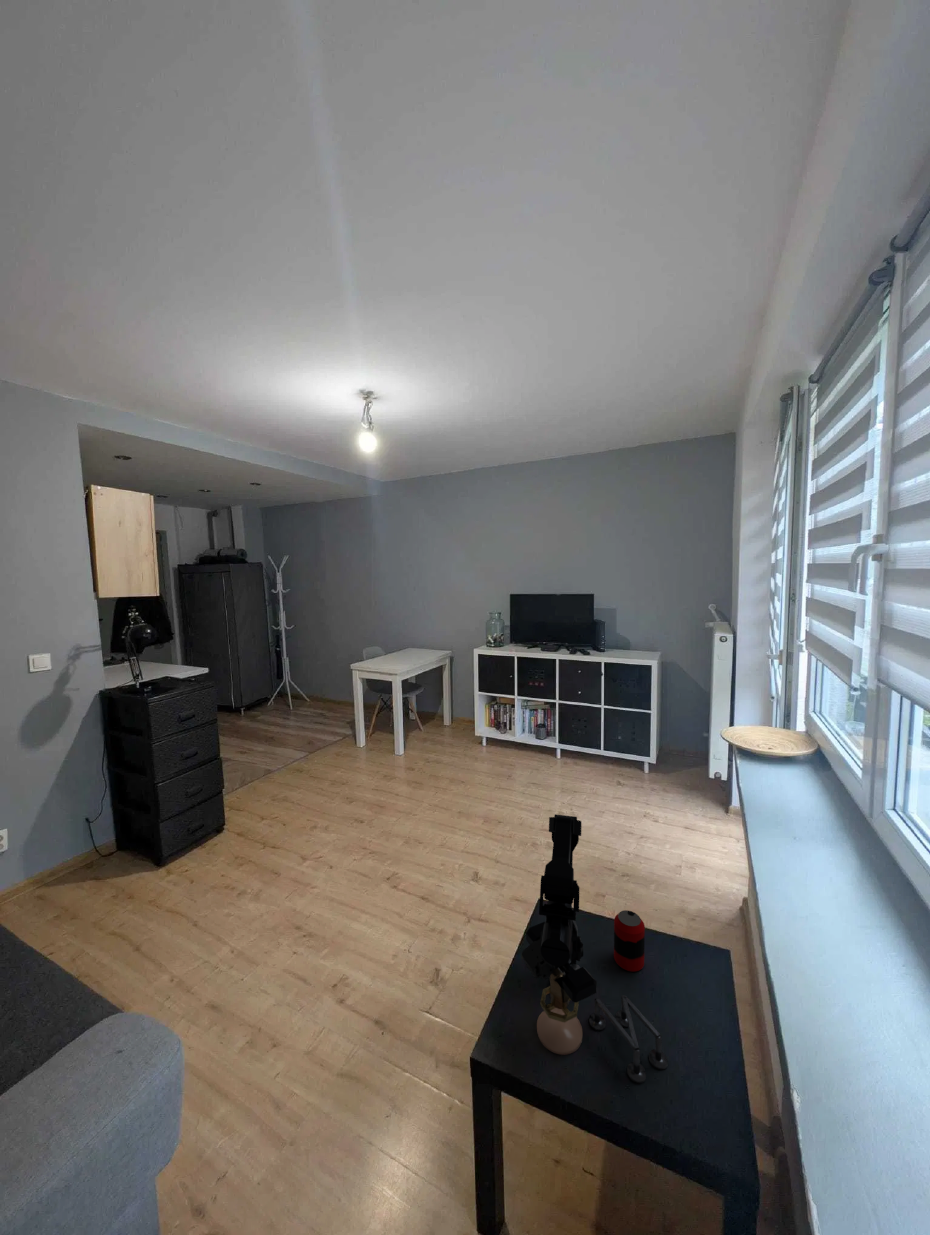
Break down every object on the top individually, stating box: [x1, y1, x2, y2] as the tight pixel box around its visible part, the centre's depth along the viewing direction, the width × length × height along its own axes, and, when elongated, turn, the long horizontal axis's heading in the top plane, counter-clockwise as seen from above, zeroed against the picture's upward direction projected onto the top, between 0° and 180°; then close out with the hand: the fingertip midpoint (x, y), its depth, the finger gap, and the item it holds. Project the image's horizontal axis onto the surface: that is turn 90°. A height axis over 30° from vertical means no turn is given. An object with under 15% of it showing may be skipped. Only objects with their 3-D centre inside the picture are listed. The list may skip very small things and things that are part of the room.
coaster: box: [536, 1008, 583, 1056], centre depth 104 cm, size 10×10×1 cm
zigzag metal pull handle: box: [588, 994, 669, 1084], centre depth 101 cm, size 16×10×6 cm, turn 24°
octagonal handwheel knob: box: [539, 968, 580, 1022], centre depth 103 cm, size 8×8×7 cm
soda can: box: [613, 909, 646, 973], centre depth 122 cm, size 8×8×12 cm
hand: (559, 993), depth 103 cm, fingers closed on octagonal handwheel knob, 4 cm apart
